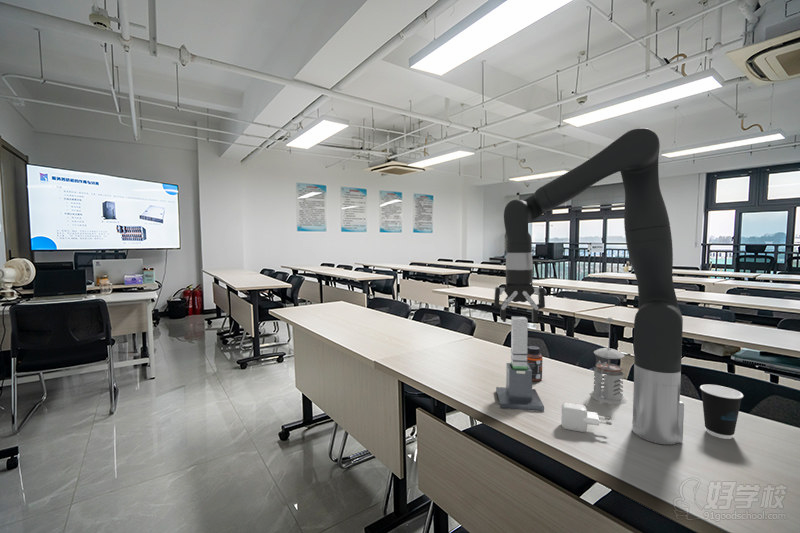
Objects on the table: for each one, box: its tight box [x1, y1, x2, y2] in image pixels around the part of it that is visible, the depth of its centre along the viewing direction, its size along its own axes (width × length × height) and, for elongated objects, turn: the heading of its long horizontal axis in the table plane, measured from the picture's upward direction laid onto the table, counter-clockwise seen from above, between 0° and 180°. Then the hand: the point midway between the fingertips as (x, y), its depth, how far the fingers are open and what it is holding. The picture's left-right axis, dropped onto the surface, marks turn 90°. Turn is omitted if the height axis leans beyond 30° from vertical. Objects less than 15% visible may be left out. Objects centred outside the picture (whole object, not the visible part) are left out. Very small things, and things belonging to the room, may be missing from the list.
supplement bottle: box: [527, 345, 543, 382], centre depth 124 cm, size 6×6×11 cm
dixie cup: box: [699, 384, 744, 440], centre depth 87 cm, size 8×8×11 cm
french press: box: [589, 317, 627, 405], centre depth 108 cm, size 10×12×25 cm
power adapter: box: [561, 402, 613, 433], centre depth 90 cm, size 11×5×6 cm, turn 67°
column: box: [510, 316, 529, 370], centre depth 106 cm, size 4×4×18 cm
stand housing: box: [495, 362, 545, 412], centre depth 107 cm, size 12×12×10 cm
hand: (518, 321), depth 106 cm, fingers open, 8 cm apart
